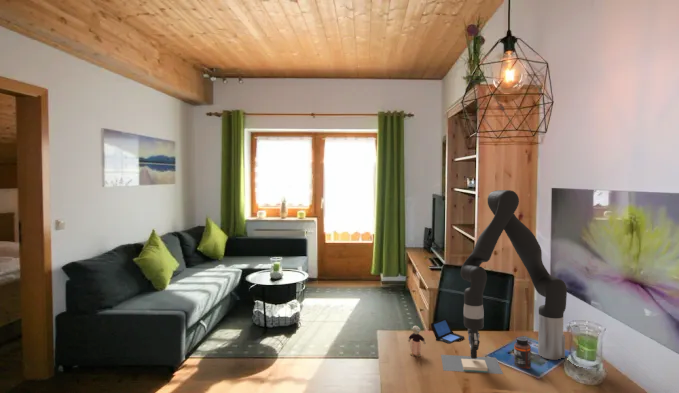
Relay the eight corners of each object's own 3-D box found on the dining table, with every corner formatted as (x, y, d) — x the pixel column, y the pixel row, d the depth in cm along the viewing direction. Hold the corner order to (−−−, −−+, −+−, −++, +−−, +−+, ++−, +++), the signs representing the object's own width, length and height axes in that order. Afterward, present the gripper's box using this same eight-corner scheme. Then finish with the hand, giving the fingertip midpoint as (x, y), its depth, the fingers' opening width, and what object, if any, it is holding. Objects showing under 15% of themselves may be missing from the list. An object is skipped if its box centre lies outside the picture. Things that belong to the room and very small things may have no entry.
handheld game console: (449, 346, 185) (449, 330, 184) (429, 339, 193) (429, 323, 193) (465, 339, 193) (465, 323, 192) (446, 332, 201) (446, 317, 201)
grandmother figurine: (406, 356, 175) (406, 326, 175) (408, 352, 179) (407, 323, 178) (425, 358, 173) (425, 328, 172) (426, 354, 177) (426, 325, 176)
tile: (484, 359, 165) (487, 368, 158) (484, 363, 165) (487, 372, 158) (461, 358, 167) (463, 366, 160) (461, 362, 167) (463, 370, 160)
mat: (495, 359, 171) (495, 357, 170) (503, 376, 157) (503, 374, 157) (440, 356, 174) (440, 354, 174) (443, 372, 161) (443, 370, 161)
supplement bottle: (529, 364, 166) (530, 336, 165) (531, 371, 160) (531, 342, 160) (513, 362, 168) (513, 334, 167) (514, 369, 162) (514, 340, 162)
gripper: (486, 321, 157) (486, 365, 158) (480, 309, 170) (480, 351, 171) (466, 320, 158) (466, 364, 159) (461, 309, 171) (461, 350, 172)
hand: (473, 357), depth 165 cm, fingers closed
